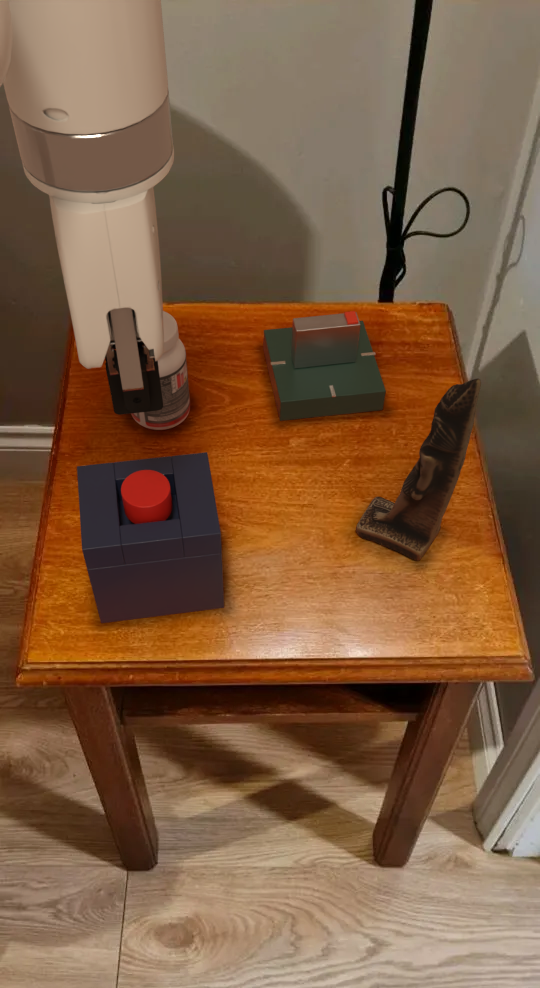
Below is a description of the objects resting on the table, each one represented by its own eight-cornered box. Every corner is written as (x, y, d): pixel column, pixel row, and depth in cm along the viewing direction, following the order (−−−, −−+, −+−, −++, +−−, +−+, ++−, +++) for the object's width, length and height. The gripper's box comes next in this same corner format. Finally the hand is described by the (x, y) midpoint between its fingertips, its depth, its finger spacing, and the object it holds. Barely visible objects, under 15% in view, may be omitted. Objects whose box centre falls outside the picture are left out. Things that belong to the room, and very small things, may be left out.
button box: (101, 623, 73) (81, 549, 65) (95, 544, 77) (76, 465, 69) (224, 607, 74) (221, 533, 66) (211, 530, 78) (207, 451, 70)
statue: (372, 504, 80) (405, 323, 64) (447, 535, 79) (500, 357, 62) (352, 537, 78) (380, 359, 62) (428, 570, 77) (478, 395, 60)
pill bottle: (201, 400, 87) (195, 316, 79) (172, 440, 84) (164, 357, 76) (148, 382, 88) (138, 297, 80) (119, 420, 85) (104, 336, 77)
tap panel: (279, 422, 86) (279, 401, 83) (262, 349, 91) (262, 327, 89) (384, 410, 87) (387, 390, 84) (361, 339, 92) (363, 318, 90)
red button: (126, 529, 67) (122, 509, 65) (122, 492, 69) (119, 472, 67) (174, 523, 67) (172, 504, 66) (169, 487, 69) (167, 466, 67)
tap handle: (294, 368, 86) (296, 328, 82) (290, 356, 87) (292, 315, 83) (356, 362, 87) (361, 322, 83) (351, 349, 88) (356, 309, 84)
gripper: (14, 58, 48) (75, 333, 63) (18, 231, 40) (86, 498, 55) (157, 47, 48) (182, 322, 64) (188, 215, 40) (209, 483, 56)
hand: (138, 403), depth 59 cm, fingers closed
